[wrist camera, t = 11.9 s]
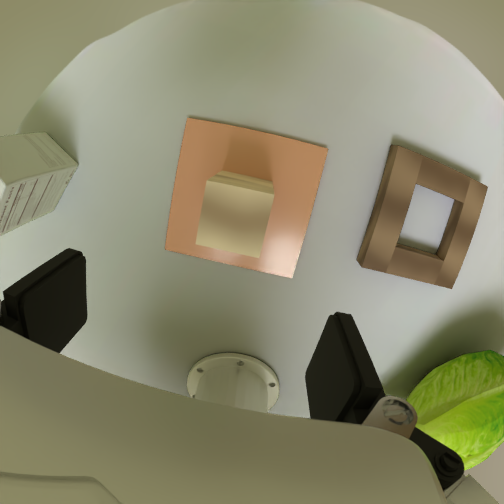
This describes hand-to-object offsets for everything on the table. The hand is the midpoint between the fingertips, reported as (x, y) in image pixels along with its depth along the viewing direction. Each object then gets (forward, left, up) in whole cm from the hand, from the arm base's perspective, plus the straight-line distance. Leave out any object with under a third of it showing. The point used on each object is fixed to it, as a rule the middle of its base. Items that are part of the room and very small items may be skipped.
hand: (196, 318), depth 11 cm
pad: (0, 0, -22) cm, 22 cm away
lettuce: (-19, -35, -22) cm, 45 cm away
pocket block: (+3, -20, -22) cm, 30 cm away
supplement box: (-1, +24, -22) cm, 32 cm away
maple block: (0, 0, -21) cm, 21 cm away
